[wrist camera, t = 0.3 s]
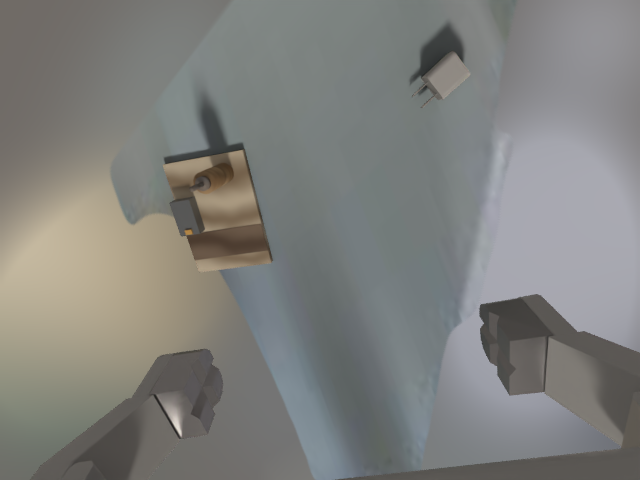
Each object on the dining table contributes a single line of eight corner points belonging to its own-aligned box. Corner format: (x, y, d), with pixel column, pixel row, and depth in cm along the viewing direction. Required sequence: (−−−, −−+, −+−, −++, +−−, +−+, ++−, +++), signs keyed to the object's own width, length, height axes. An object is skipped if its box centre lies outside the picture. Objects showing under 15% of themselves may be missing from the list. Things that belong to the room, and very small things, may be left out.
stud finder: (175, 199, 58) (168, 203, 56) (194, 196, 57) (188, 200, 55) (187, 232, 60) (180, 237, 58) (205, 229, 59) (199, 234, 57)
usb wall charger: (462, 77, 48) (471, 75, 44) (422, 112, 50) (428, 113, 47) (445, 54, 47) (453, 50, 44) (406, 91, 50) (410, 90, 46)
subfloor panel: (165, 163, 57) (162, 164, 56) (244, 149, 55) (242, 150, 54) (201, 269, 64) (199, 272, 63) (272, 260, 62) (271, 263, 61)
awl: (212, 164, 55) (176, 179, 44) (230, 161, 55) (199, 175, 44) (218, 183, 56) (184, 202, 45) (236, 180, 56) (206, 199, 45)
